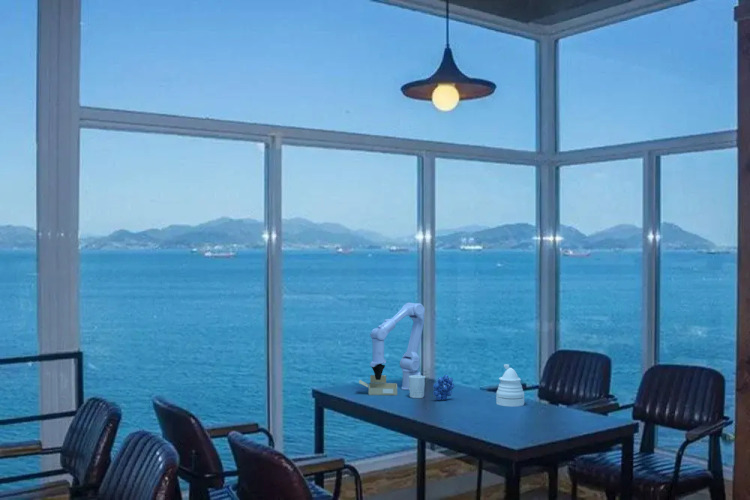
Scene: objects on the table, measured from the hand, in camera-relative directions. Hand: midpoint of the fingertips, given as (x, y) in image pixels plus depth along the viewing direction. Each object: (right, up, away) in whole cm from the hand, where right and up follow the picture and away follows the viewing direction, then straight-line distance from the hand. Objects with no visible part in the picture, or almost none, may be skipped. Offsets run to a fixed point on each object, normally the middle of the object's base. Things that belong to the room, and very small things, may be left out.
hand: (378, 379), depth 385 cm
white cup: (+19, -7, -12) cm, 23 cm away
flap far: (-5, -3, -3) cm, 6 cm away
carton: (+2, -6, 0) cm, 7 cm away
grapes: (+31, -7, -19) cm, 37 cm away
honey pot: (+61, -7, -27) cm, 67 cm away
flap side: (0, -3, +7) cm, 7 cm away
